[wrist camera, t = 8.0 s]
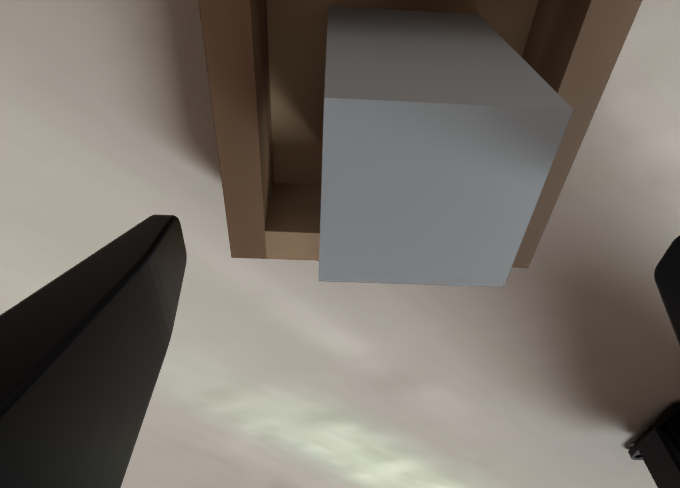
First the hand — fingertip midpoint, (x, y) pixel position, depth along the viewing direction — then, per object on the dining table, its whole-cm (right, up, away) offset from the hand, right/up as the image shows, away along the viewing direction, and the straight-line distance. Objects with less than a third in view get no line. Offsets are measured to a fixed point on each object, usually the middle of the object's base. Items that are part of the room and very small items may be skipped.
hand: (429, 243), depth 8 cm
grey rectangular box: (0, +5, +7) cm, 9 cm away
